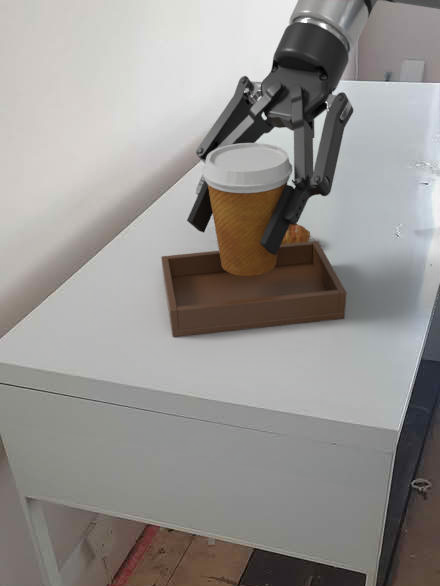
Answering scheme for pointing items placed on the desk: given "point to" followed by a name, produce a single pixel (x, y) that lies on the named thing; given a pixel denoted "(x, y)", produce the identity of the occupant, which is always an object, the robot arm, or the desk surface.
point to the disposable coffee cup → (245, 202)
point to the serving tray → (251, 291)
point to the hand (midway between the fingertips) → (230, 237)
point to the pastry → (296, 234)
